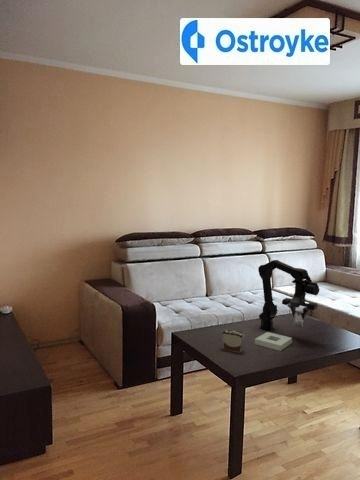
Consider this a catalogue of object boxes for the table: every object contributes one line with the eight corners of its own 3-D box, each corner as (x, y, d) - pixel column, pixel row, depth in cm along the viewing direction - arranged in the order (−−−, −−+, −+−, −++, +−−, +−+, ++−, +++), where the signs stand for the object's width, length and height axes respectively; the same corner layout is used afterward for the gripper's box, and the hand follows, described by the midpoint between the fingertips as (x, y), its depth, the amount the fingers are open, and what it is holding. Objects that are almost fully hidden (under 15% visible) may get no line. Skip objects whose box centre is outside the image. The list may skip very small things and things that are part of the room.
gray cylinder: (292, 325, 225) (293, 311, 224) (295, 323, 229) (296, 310, 228) (300, 327, 222) (301, 313, 221) (304, 325, 225) (305, 311, 225)
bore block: (254, 344, 217) (254, 338, 217) (267, 336, 229) (267, 331, 228) (280, 351, 208) (280, 345, 207) (291, 343, 219) (292, 337, 219)
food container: (247, 349, 209) (247, 331, 208) (242, 353, 204) (243, 334, 203) (225, 344, 215) (226, 327, 214) (221, 348, 210) (221, 330, 209)
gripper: (278, 291, 222) (277, 318, 224) (311, 297, 211) (309, 325, 213) (286, 288, 231) (285, 314, 233) (318, 293, 220) (317, 320, 221)
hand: (298, 318), depth 225 cm, fingers closed on gray cylinder, 5 cm apart
